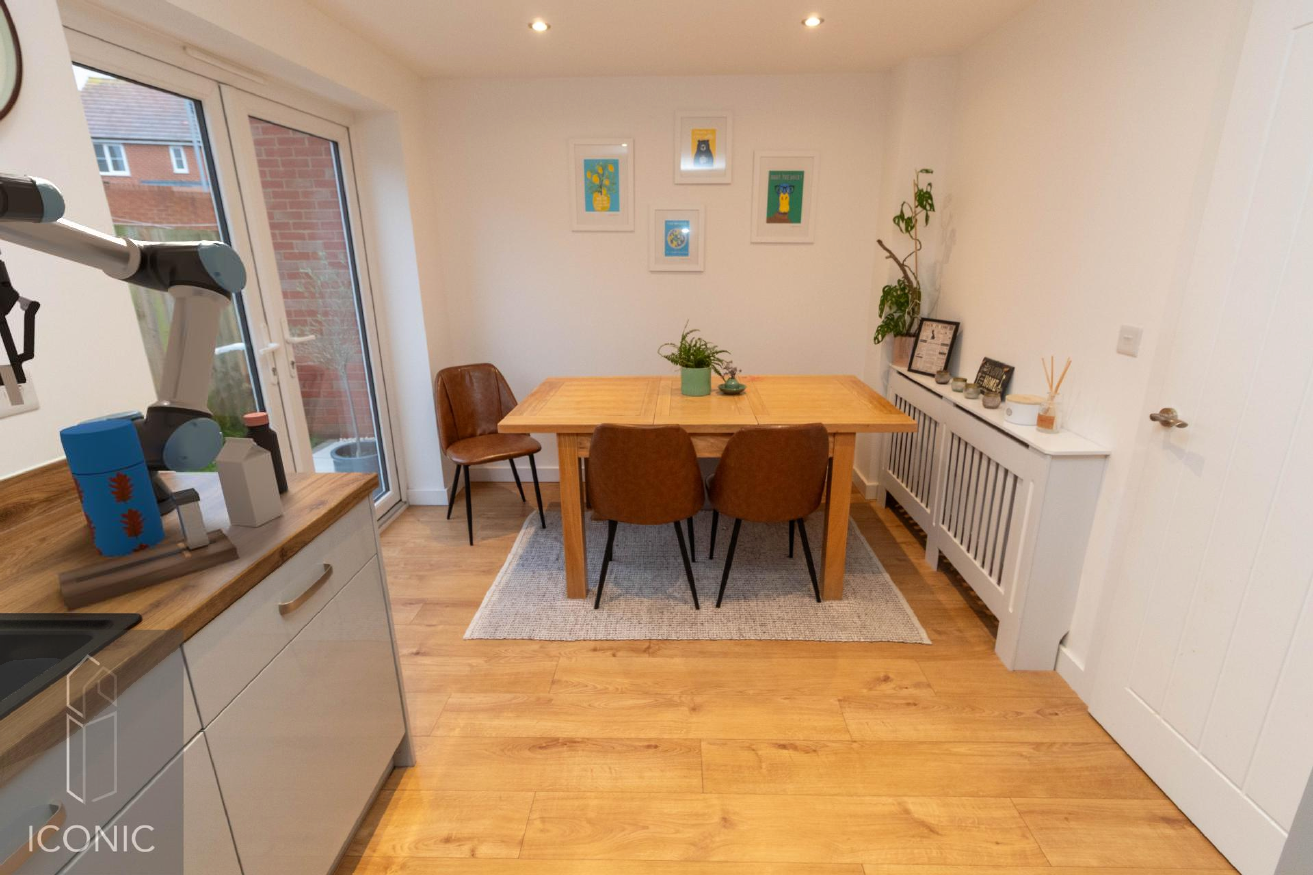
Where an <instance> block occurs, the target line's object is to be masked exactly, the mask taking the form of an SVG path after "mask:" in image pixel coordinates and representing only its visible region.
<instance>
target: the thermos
mask: <svg viewBox="0 0 1313 875" xmlns="http://www.w3.org/2000/svg"><path fill="white" fill-rule="evenodd" d="M59 437H60V442H61V446H62V449H63V453H64V456H65V458H66V461H67V465H68V467H69V471H70V473H71V477H72V480H73V483H74V485H75V489H76V492H77V496H78V499H79V502H80V504H81V508H82V512H83V515H84V518H85V520H86V524H87V526H88V529H89V533H90V535H91V538H92V540H93V543H94V545H95V547H96V550H97V553H98V555H100V556H103V557H120V556H124V555H127V554H131V553H134V552H138V551H142V550H145V549H149V548H152V547H155V546H156V545H158V544H159V543H161V542H163V541H164V539H165V537H166V535H165V530H164V524H163V521H162V515H160V512H159V509H158V505H157V502H156V498H155V494H154V491H153V487H152V484H151V480H150V477H149V473H148V470H147V466H146V462H145V460H144V455H143V452H142V448H141V445H140V441H139V438H138V434H137V431H136V428H135V426H134V424H133V422H132V421H131V420H126V419H122V420H105V421H97V422H91V423H85V424H80V425H78V424H76V425H71V426H69V427H68V426H67V427H65V428H62V429H61V430H60V431H59Z"/></svg>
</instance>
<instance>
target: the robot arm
mask: <svg viewBox="0 0 1313 875" xmlns="http://www.w3.org/2000/svg"><path fill="white" fill-rule="evenodd" d="M65 212H66V203H65V199H64V197H63V194H62V192H61V191H60V190H59V189H58V187H57V186H56V185H55V184H53V183H52V182H50V181H49V180H46V179H43V178H39V177H33V176H30V175H28V174H23V175H22V174H14V173H4V172H0V240H2V241H4V242H8V243H12V244H15V245H18V246H21V247H25V248H27V249H31V250H35V251H37V252H41V253H45V254H48V255H50V256H54V257H57V258H61V259H65V260H68V261H71V262H74V263H78V264H81V265H84V266H88V267H91V268H94V269H97V270H101V271H102V272H103V273H104V274H105V275H106V276H108V277H110V278H112V279H115V280H117V281H121V282H125V283H128V284H132V285H135V286H139V287H142V288H146V289H148V290H149V289H150V290H152V291H153V290H154V291H157V292H163V293H168V294H169V295H170V296H171V297H172V298H173V300H174V304H173V305H174V306H173V311H172V317H171V323H170V329H169V334H168V339H167V346H166V351H165V357H164V363H163V364H164V365H163V369H162V376H161V381H160V385H159V386H160V388H159V392H158V399H157V401H156V402H154V403H152V404H150V405H149V406H148V405H147V408H146V413H145V414H146V415H144V414H143V412H142V411H140V410H129V411H121V412H117V413H111V414H108V415H107V414H106V415H103V416H98V417H93V418H90V419H86V420H83V421H82V422H81V421H80V422H79V423H78V424H77V425H80V424H85V423H91V422H97V421H105V420H122V419H126V420H131V421H132V422H133V424H134V426H135V428H136V431H137V434H138V438H139V441H140V445H141V448H142V452H143V455H144V460H145V462H146V466H147V470H148V473H149V477H150V480H151V484H152V487H153V491H154V494H155V498H156V502H157V505H158V509H159V512H160V516H162V515H165V514H167V513H169V512H170V511H173V510H174V509H176V506H175V504H174V502H173V501H172V500H171V496H170V493H173V491H172V489H171V487H169V485H168V484H167V483H166V482H165V481H164V479H163V478H162V476H161V475H160V472H178V473H186V472H188V471H189V472H192V471H200V470H203V469H205V468H207V467H209V465H210V464H211V465H212V463H213V462H214V463H215V459H216V457H217V456H218V454H219V453H220V451H221V449H222V448H223V446H224V445H223V442H224V435H223V434H224V433H223V432H221V430H222V429H221V427H220V425H219V424H218V423H217V422H216V421H215V420H214V413H213V412H212V411H211V410H210V409H209V408H208V400H209V399H208V398H209V392H210V385H211V379H212V374H213V367H214V360H215V353H216V346H217V342H218V341H217V340H218V334H219V328H220V321H221V315H222V310H223V309H226V308H227V307H229V306H231V301H232V295H233V294H237V293H240V292H242V290H244V289H245V287H246V285H247V280H248V278H247V277H248V275H247V270H246V267H245V264H244V262H243V261H242V258H241V257H240V255H239V254H238V253H237V251H236V250H234V248H233V247H231V246H230V245H229V244H227V243H224V242H221V241H215V240H214V241H213V240H212V241H209V240H204V239H203V240H200V241H199V240H198V241H144V240H143V241H142V240H135V239H131V238H130V237H127V236H123V235H116V236H110V235H108V234H105V233H102V232H99V231H96V230H94V229H91V228H88V227H86V226H83V225H80V224H77V223H75V222H73V221H72V222H71V221H69V220H67V219H64V218H63V216H64V214H65ZM1 255H2V251H1V249H0V256H1ZM16 303H19V308H20V309H21V310H22V311H24V313H23V351H22V353H18V350H17V347H16V344H15V340H14V338H13V336H12V332H11V329H10V327H9V326H10V325H9V323H8V321H7V317H6V316H8V315H9V314H10V312H11V311H12V310H13V308H14V306H15V305H16ZM40 308H41V303H40V302H39V301H37V300H32V299H30V298H27V297H24V296H21V295H20V293H19V291H18V290H16V289H15V288H14V286H13V285H12V281H11V279H10V276H9V271H8V270H7V266H6V263H5V261H3V260H2V259H1V258H0V338H1V340H2V343H3V346H4V349H5V352H6V354H7V359H8V361H9V363H10V364H0V387H2V386H3V387H5V391H6V393H7V396H8V399H9V402H10V405H11V407H13V406H21V405H25V402H24V398H23V395H22V392H21V390H20V386H19V385H20V384H26V383H27V378H26V374H25V371H24V369H23V364H24V363H25V362H27V361H31V360H33V359H34V358H35V342H36V341H35V338H36V337H35V336H36V334H35V333H36V332H35V330H36V314H37V313H38V311H39V310H40Z"/></svg>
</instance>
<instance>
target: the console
mask: <svg viewBox="0 0 1313 875" xmlns="http://www.w3.org/2000/svg"><path fill="white" fill-rule="evenodd" d="M206 532H207V536H208V540H209V544H208V545H204V546H201V547H197V548H194V549H190V548H189V547H188V546H187V544H186V542H185V538H182V539H179V540H174V541H171V542H167V543H165V544H160V545H157V546H156V545H155V546H152V547H150V548H147V549H144V550H141V551H138V552H134V553H130V554H126V555H119V556H115V557H113V558H109V559H106V560H103V561H100V562H95V563H92V564H89V565H84V566H81V567H77V568H74V569H70V570H67V571H66V570H65V571H63V572H60V573H57V576H58V579H59V586H60V589H61V595H62V600H63V602H64V604H65V607H66V610H67V612H71V611H75V610H78V609H81V608H84V607H87V606H91V605H95V604H97V603H100V602H103V601H106V600H111V599H112V598H117V597H119V596H123V595H126V594H129V593H131V592H132V593H133V592H135V591H139V590H141V589H145V588H147V587H151V586H155V585H157V584H161V583H164V582H167V581H171V580H173V579H174V580H175V579H177V578H180V577H183V576H187V575H189V574H193V573H196V572H199V571H204V570H205V569H209V568H212V567H216V566H219V565H222V564H225V563H229V562H232V561H234V560H237V559H240V557H239V553H238V549H237V546H236V545H235V543H233V541H232V540H231V539H230V538H229V537H228V536H227V534H226V533H225V532H224V531H223V530H222V529H221V528H218V529H215V530H210V531H206Z"/></svg>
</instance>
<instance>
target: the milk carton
mask: <svg viewBox="0 0 1313 875" xmlns="http://www.w3.org/2000/svg"><path fill="white" fill-rule="evenodd" d="M224 438H225V443H224V445H222V449H221V451H220V453H219V454H218V456H217V457H216V459H215V461H214V463H215V468H216V469H217V470H216V471H217V475H218V478H219V482H220V486H221V491H222V494H223V499H224V503H225V507H226V511H227V515H228V519H229V523H230V525H233V526H242V527H249V528H250V527H252V528H258V527H260V526H263V525H265V524H266V523H267V522H270V521H272V520H275V519H276V518H278V517H279V516H283V515H284V510H283V506H282V500H281V496H280V495H281V494H280V495H279V491H278V486H277V481H276V477H275V472H274V468H273V463H272V458H271V454H270V452H269V451H268V450H266V449H264V448H262V447H260V446H258V445H257V444H256V443H255V442H253V439H247V438H243V437H233V436H232V437H229V436H228V437H227V436H225V437H224Z"/></svg>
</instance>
